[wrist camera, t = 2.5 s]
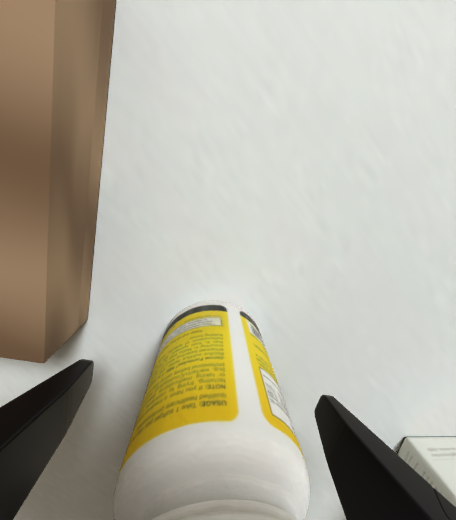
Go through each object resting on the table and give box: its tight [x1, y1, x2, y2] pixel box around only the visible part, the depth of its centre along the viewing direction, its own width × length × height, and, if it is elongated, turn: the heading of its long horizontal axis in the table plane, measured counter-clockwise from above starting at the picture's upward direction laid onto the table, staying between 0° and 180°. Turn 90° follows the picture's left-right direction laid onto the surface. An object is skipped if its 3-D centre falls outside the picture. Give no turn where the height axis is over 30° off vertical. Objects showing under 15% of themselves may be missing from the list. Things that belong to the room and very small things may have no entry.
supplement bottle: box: [113, 301, 310, 520], centre depth 7 cm, size 5×5×8 cm
